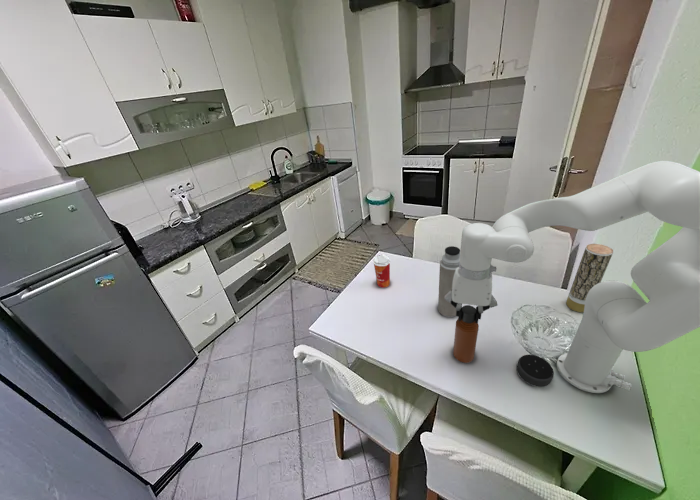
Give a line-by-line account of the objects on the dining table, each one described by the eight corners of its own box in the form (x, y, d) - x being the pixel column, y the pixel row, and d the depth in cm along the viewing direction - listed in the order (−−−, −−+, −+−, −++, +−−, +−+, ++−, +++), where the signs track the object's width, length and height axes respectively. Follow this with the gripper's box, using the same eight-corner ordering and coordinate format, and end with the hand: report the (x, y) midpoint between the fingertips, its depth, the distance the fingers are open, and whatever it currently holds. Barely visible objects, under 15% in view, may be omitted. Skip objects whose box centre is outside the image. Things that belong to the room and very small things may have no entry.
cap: (475, 314, 83) (476, 306, 81) (475, 324, 80) (476, 315, 78) (460, 312, 85) (461, 304, 83) (460, 322, 82) (461, 313, 80)
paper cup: (372, 281, 130) (370, 256, 123) (387, 277, 132) (385, 252, 124) (379, 291, 123) (376, 265, 116) (394, 286, 125) (393, 260, 118)
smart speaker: (548, 366, 84) (551, 357, 82) (553, 392, 77) (557, 384, 75) (515, 358, 87) (517, 350, 85) (517, 383, 80) (519, 374, 78)
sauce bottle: (476, 352, 91) (483, 308, 81) (470, 366, 87) (476, 322, 77) (457, 343, 95) (461, 300, 85) (450, 356, 91) (453, 313, 81)
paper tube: (570, 312, 100) (592, 254, 87) (562, 299, 105) (582, 243, 92) (592, 313, 98) (618, 254, 85) (583, 300, 103) (606, 243, 91)
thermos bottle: (458, 303, 111) (463, 243, 97) (460, 317, 104) (467, 255, 90) (437, 302, 113) (439, 243, 98) (438, 316, 106) (441, 255, 92)
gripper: (507, 263, 73) (497, 313, 83) (441, 258, 79) (439, 306, 88) (511, 280, 67) (500, 332, 77) (439, 274, 73) (437, 323, 82)
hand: (467, 318), depth 82 cm, fingers closed on cap, 4 cm apart
